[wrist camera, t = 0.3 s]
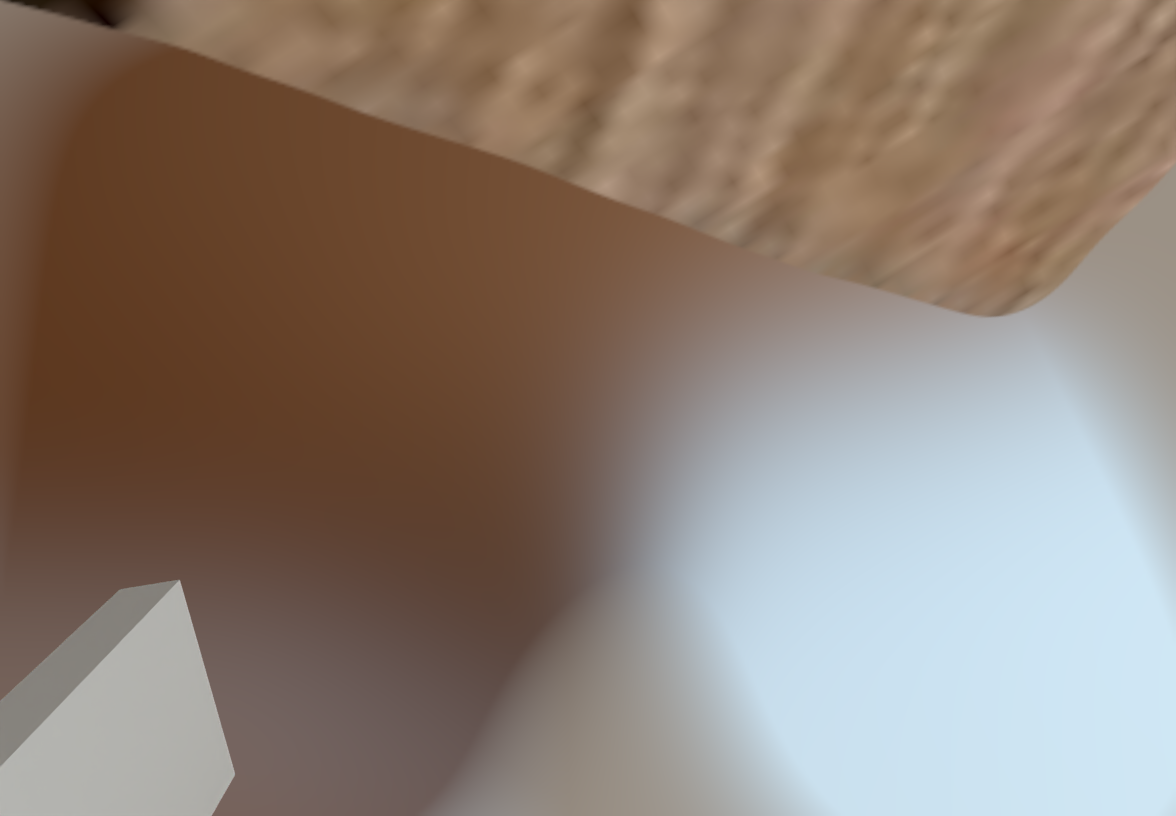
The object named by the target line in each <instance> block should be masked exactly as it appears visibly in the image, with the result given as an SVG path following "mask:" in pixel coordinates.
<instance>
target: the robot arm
mask: <svg viewBox="0 0 1176 816" xmlns="http://www.w3.org/2000/svg"><path fill="white" fill-rule="evenodd" d="M234 776H235V772H234V769H233V765H232V762H231V758H230V755H229V751H228V748H227V744H226V741H225V737H224V734H223V730H222V727H221V723H220V720H219V716H218V713H217V709H216V706H215V702H214V698H213V695H212V691H211V688H210V684H209V681H208V678H207V674H206V670H205V667H204V663H203V660H202V656H201V653H200V649H199V646H198V642H197V639H196V635H195V632H194V629H193V625H192V621H191V618H190V614H189V611H188V608H187V604H186V600H185V597H184V593H183V590H182V587H181V583H180V580H176V581H169V582H163V583H157V584H151V585H144V586H138V587H132V588H126V589H120V590H119V591H118V592H117V593H116V594H115V595H114V596H112V597H111V598H110V599H109V600H108V601H107V602H106V603H105V604H104V605H103V606H102V607H101V608H100V609H99V610H97V611H96V612H95V613H94V614H93V615H92V616H91V617H90V618H89V619H88V620H87V621H86V622H84V623H83V624H82V625H81V626H80V627H79V628H78V629H77V630H76V631H75V632H74V633H73V634H72V635H71V636H70V637H69V638H67V639H66V640H65V641H64V642H63V643H62V644H61V645H60V646H59V647H58V648H57V649H55V650H54V651H53V652H52V653H51V654H50V655H49V656H48V657H47V658H46V659H45V660H44V661H43V662H42V663H41V664H40V665H38V666H37V667H36V668H35V669H34V670H33V671H32V672H31V673H30V674H29V675H28V676H27V677H26V678H25V679H24V680H22V681H21V682H20V683H19V684H18V685H17V686H16V687H15V688H14V689H13V690H12V691H11V692H9V693H8V694H7V695H6V696H5V697H4V698H3V699H2V700H1V701H0V816H212V814H213V812H214V810H215V809H216V807H217V805H218V803H219V802H220V800H221V798H222V797H223V795H224V793H225V791H226V789H227V788H228V786H229V784H230V782H231V781H232V779H233V777H234Z"/></svg>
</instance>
